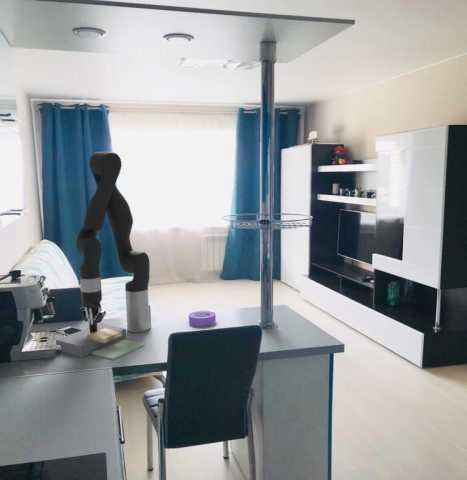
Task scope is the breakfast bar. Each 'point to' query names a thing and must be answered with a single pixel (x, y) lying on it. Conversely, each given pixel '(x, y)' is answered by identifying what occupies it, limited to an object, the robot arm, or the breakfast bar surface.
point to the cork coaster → (104, 335)
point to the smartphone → (70, 330)
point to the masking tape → (202, 318)
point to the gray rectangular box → (86, 341)
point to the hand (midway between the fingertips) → (93, 333)
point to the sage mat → (118, 349)
